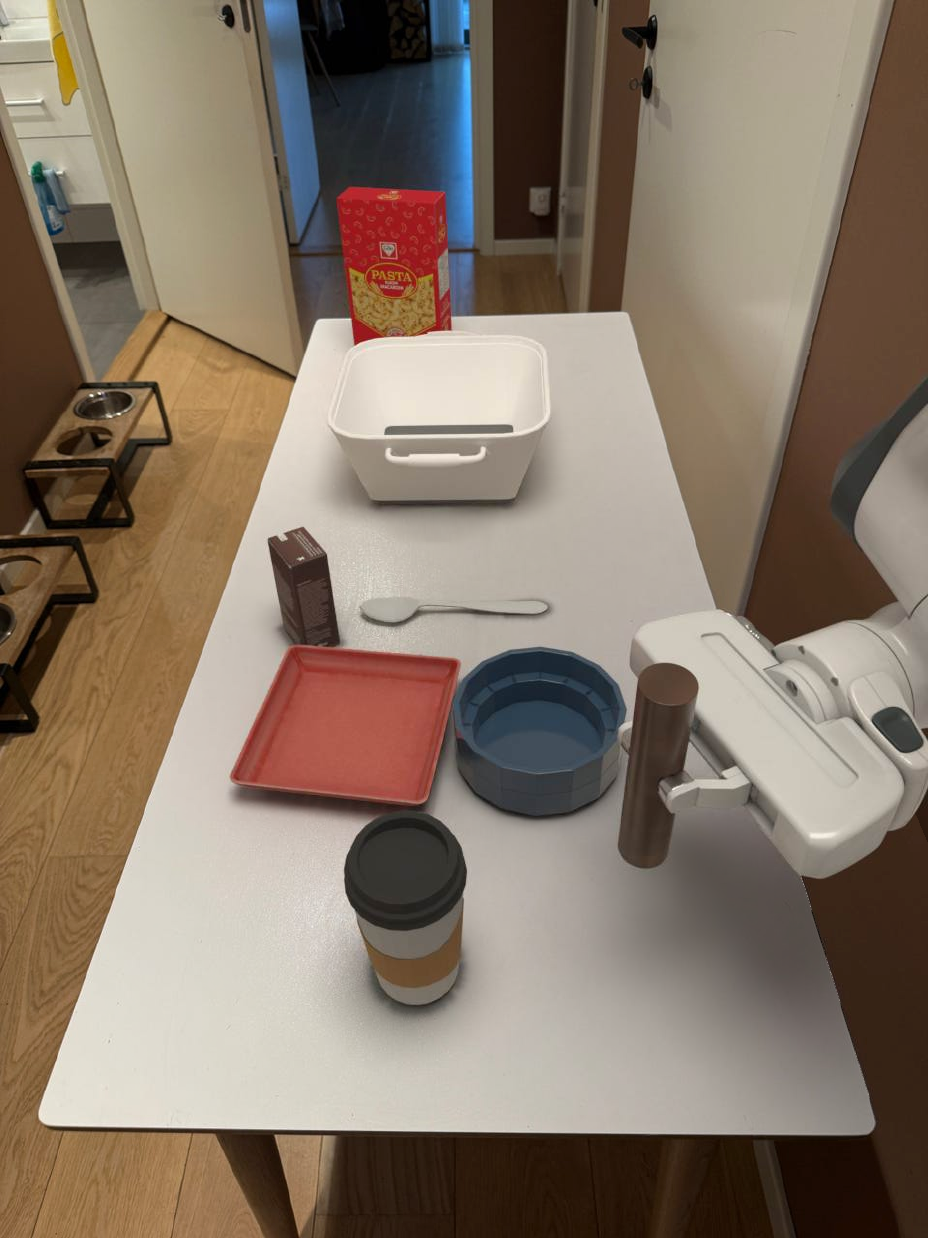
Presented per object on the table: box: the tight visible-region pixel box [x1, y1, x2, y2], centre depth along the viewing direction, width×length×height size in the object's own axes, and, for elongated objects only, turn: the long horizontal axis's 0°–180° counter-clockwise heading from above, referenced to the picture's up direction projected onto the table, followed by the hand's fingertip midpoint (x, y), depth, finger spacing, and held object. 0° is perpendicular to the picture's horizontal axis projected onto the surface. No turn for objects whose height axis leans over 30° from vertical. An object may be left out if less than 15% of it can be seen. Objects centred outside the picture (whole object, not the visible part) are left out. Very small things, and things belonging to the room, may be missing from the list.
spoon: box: [359, 596, 549, 623], centre depth 101 cm, size 4×21×2 cm, turn 91°
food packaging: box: [336, 186, 453, 347], centre depth 141 cm, size 15×5×25 cm, turn 74°
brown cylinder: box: [617, 663, 699, 870], centre depth 58 cm, size 3×3×16 cm
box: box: [267, 526, 341, 648], centre depth 96 cm, size 6×4×12 cm
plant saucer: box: [229, 644, 462, 807], centre depth 88 cm, size 18×18×3 cm
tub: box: [325, 330, 552, 505], centre depth 120 cm, size 34×27×13 cm
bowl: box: [452, 646, 628, 817], centre depth 84 cm, size 15×15×6 cm
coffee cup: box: [343, 810, 468, 1006], centre depth 66 cm, size 8×8×15 cm
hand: (643, 769), depth 57 cm, fingers closed on brown cylinder, 3 cm apart
